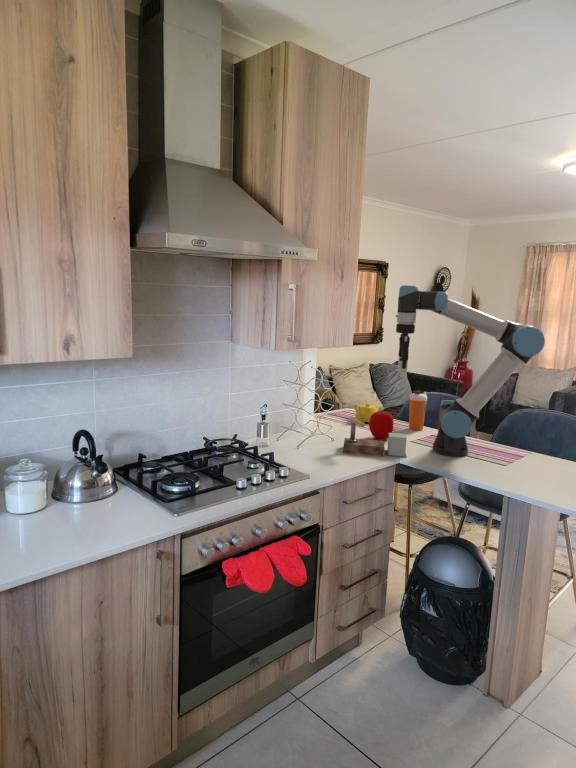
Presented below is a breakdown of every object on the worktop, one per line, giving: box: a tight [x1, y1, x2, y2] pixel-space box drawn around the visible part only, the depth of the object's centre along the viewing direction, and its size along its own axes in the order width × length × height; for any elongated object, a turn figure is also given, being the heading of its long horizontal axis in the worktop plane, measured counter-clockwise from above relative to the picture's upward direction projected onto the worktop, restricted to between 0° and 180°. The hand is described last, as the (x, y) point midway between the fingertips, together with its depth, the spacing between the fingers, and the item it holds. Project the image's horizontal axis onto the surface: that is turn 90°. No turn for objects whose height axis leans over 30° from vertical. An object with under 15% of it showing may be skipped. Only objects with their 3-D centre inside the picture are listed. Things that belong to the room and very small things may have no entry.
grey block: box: [386, 432, 407, 456], centre depth 226 cm, size 7×7×8 cm
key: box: [347, 416, 366, 442], centre depth 225 cm, size 11×4×10 cm, turn 17°
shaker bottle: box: [408, 389, 428, 432], centre depth 274 cm, size 9×9×20 cm
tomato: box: [368, 409, 394, 441], centre depth 250 cm, size 13×11×14 cm
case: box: [343, 437, 385, 457], centre depth 229 cm, size 17×10×4 cm, turn 82°
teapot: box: [354, 402, 384, 424], centre depth 287 cm, size 14×13×10 cm
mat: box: [384, 449, 408, 459], centre depth 227 cm, size 9×9×1 cm
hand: (401, 374), depth 222 cm, fingers open, 13 cm apart
